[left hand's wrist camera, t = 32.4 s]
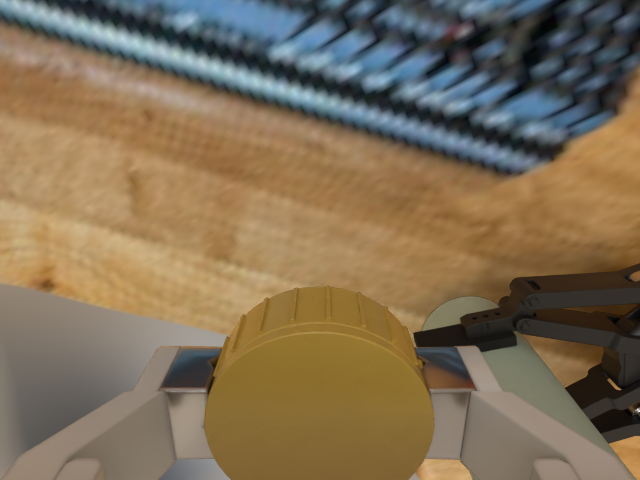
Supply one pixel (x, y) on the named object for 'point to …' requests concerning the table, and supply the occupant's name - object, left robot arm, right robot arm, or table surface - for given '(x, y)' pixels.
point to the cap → (319, 392)
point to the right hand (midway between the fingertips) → (426, 394)
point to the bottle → (523, 372)
